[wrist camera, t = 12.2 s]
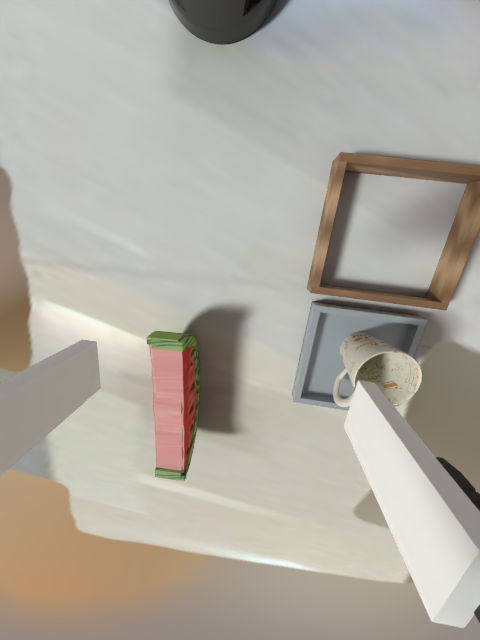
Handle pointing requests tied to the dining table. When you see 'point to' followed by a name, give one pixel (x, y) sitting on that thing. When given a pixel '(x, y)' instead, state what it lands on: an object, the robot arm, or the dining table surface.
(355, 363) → the mug
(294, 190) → the dining table surface
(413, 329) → the tray
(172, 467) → the fruit slice
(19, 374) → the robot arm
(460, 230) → the corral
